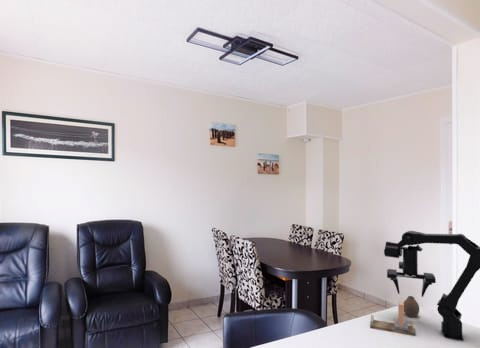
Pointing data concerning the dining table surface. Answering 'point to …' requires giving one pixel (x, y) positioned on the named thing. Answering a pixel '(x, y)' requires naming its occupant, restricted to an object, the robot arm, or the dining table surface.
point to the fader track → (391, 327)
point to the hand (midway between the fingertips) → (410, 295)
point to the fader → (401, 318)
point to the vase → (411, 307)
